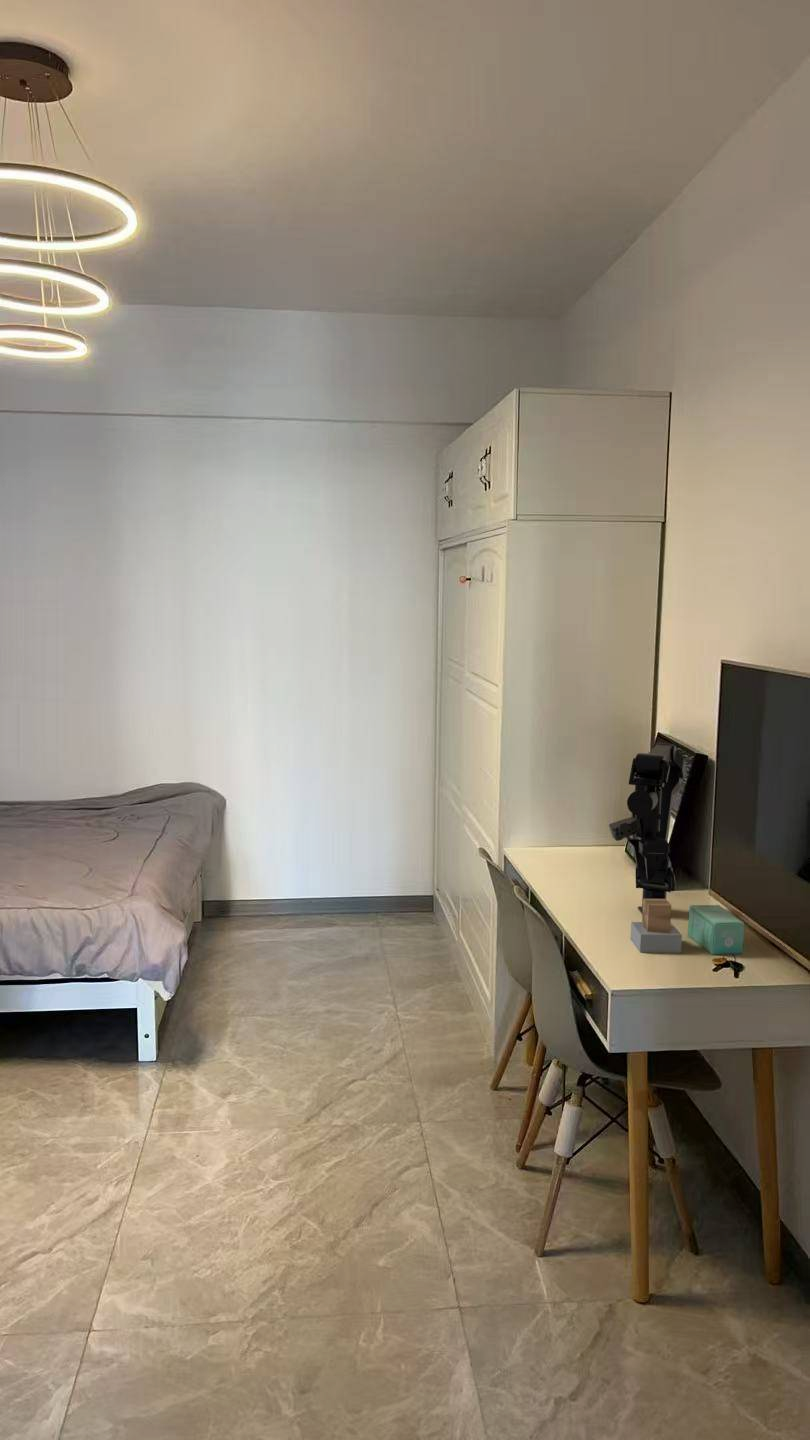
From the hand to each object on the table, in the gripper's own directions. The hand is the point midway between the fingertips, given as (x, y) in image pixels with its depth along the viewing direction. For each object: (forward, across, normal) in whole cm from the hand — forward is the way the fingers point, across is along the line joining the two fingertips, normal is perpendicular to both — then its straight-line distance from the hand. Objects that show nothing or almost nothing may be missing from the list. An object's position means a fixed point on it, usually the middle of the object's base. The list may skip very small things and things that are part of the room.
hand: (644, 874), depth 251 cm
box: (+13, +11, +14) cm, 22 cm away
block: (+9, +12, 0) cm, 15 cm away
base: (+13, +12, 0) cm, 18 cm away
